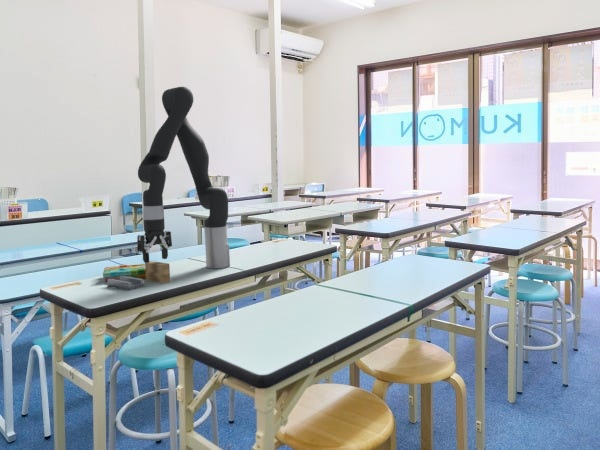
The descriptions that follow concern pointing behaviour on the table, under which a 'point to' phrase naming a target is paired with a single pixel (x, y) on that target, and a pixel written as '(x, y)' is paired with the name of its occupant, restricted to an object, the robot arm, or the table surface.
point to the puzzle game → (125, 272)
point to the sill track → (126, 283)
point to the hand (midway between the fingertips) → (155, 260)
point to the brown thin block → (157, 272)
